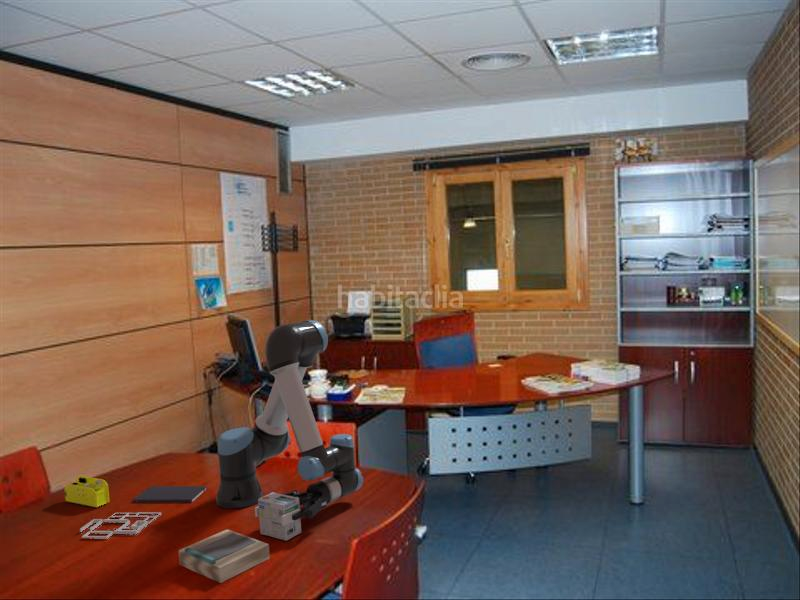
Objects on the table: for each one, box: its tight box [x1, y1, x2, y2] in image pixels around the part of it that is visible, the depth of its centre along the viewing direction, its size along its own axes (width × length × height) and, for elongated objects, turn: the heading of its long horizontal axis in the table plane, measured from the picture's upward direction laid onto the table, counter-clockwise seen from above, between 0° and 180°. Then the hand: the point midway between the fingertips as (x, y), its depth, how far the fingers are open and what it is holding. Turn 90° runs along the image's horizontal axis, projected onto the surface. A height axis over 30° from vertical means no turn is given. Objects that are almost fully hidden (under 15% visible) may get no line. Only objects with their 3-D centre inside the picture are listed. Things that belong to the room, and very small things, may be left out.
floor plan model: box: [79, 511, 162, 540], centre depth 207 cm, size 19×25×2 cm
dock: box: [178, 529, 271, 584], centre depth 183 cm, size 18×16×5 cm
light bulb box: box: [257, 491, 302, 542], centre depth 198 cm, size 11×7×11 cm, turn 57°
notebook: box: [132, 485, 207, 503], centre depth 235 cm, size 13×2×21 cm
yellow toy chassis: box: [63, 475, 111, 508], centre depth 231 cm, size 16×6×8 cm, turn 62°
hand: (268, 516), depth 195 cm, fingers closed on light bulb box, 11 cm apart
